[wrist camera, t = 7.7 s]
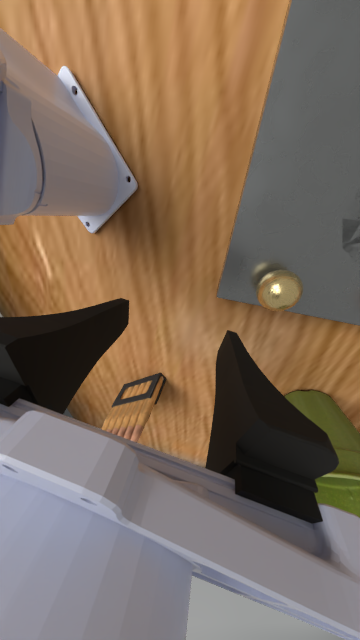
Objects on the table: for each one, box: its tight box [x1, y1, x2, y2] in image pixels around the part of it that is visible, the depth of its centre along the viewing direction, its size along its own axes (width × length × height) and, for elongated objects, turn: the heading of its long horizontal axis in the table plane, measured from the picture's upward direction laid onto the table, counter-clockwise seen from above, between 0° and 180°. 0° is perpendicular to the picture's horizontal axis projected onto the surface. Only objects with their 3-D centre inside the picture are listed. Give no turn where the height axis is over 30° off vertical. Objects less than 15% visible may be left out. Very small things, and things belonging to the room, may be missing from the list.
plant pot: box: [284, 390, 360, 518], centre depth 22 cm, size 12×12×11 cm
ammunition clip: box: [102, 373, 166, 442], centre depth 29 cm, size 11×2×12 cm, turn 125°
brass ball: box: [256, 270, 303, 311], centre depth 15 cm, size 4×4×4 cm
